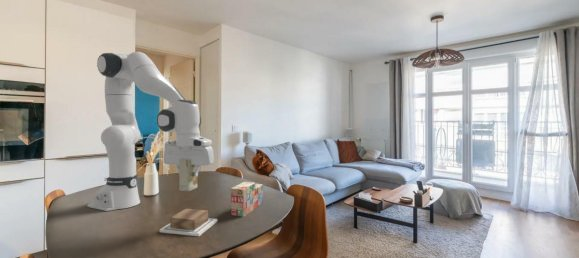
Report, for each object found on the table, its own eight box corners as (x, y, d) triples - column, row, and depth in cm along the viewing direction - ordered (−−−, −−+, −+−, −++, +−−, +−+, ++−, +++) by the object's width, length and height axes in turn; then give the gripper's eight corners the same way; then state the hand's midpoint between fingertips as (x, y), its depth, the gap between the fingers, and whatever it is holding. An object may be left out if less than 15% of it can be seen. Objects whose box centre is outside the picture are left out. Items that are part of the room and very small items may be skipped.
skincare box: (189, 191, 99) (188, 159, 98) (178, 190, 100) (178, 159, 99) (198, 187, 105) (198, 157, 105) (188, 186, 106) (188, 157, 106)
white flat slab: (159, 232, 96) (159, 229, 96) (182, 218, 109) (182, 215, 109) (199, 236, 92) (199, 233, 92) (217, 221, 106) (217, 218, 106)
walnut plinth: (170, 228, 97) (170, 217, 97) (186, 218, 107) (186, 208, 107) (194, 230, 95) (194, 219, 95) (208, 220, 105) (208, 210, 105)
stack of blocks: (252, 201, 134) (252, 177, 133) (263, 202, 132) (263, 178, 131) (230, 215, 113) (230, 187, 113) (243, 217, 111) (243, 189, 111)
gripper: (159, 141, 101) (160, 176, 101) (207, 142, 97) (208, 178, 97) (169, 139, 107) (170, 173, 107) (215, 140, 103) (216, 175, 103)
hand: (188, 175), depth 102 cm, fingers closed on skincare box, 4 cm apart
